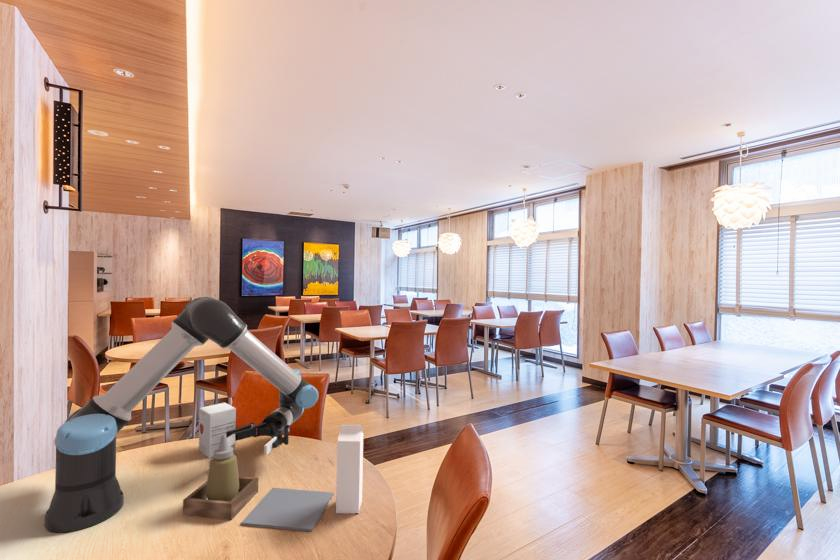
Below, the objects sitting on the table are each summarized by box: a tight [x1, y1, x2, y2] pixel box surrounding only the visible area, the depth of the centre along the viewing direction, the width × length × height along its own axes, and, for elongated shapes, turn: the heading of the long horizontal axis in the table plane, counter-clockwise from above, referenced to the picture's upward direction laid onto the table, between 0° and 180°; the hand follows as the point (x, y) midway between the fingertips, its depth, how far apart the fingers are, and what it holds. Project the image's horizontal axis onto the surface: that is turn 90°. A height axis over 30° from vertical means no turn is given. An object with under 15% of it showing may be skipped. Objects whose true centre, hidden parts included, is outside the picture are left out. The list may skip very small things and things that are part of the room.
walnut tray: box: [182, 475, 259, 521], centre depth 104 cm, size 13×13×4 cm
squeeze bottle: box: [206, 435, 240, 501], centre depth 104 cm, size 8×8×18 cm
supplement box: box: [198, 401, 237, 459], centre depth 135 cm, size 9×9×15 cm
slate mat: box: [240, 487, 335, 532], centre depth 102 cm, size 18×16×1 cm
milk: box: [335, 423, 364, 514], centre depth 103 cm, size 6×6×22 cm
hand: (243, 448), depth 113 cm, fingers open, 13 cm apart
